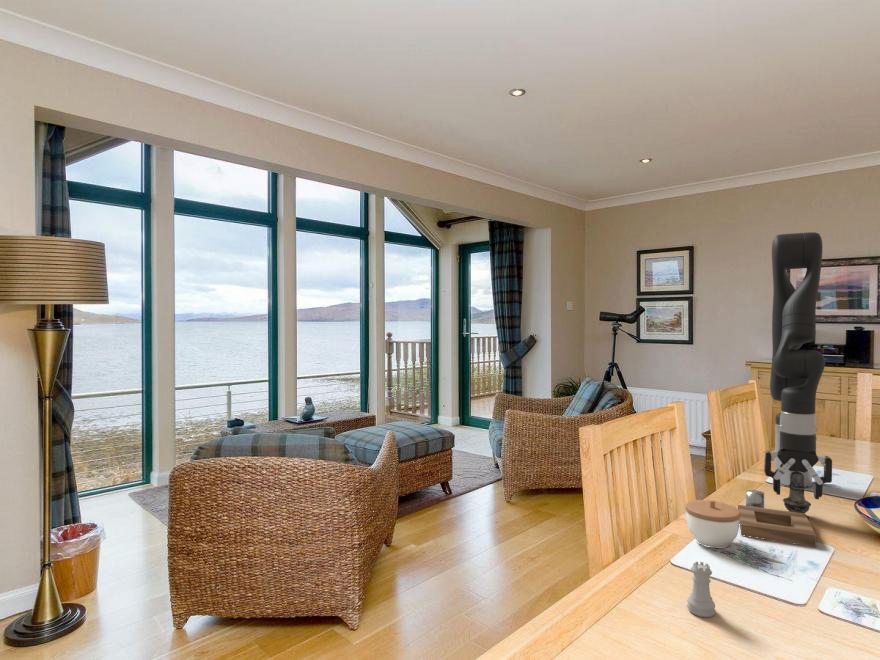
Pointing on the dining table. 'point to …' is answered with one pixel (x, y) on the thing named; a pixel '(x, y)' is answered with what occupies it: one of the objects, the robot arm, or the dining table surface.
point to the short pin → (755, 498)
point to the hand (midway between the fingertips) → (796, 495)
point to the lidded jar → (712, 522)
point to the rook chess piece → (701, 592)
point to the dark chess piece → (797, 495)
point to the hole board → (794, 534)
